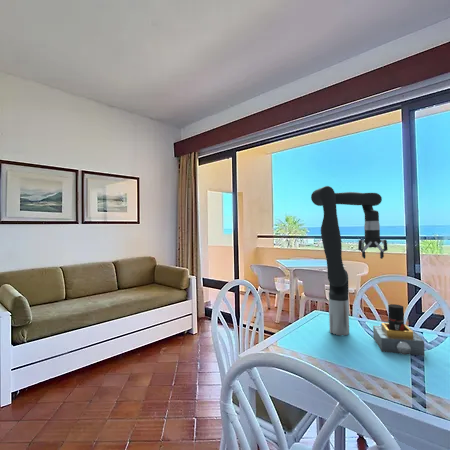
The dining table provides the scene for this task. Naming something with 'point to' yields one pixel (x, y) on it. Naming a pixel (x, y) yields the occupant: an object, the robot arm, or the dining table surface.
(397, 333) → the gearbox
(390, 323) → the deodorant
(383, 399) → the dining table surface
